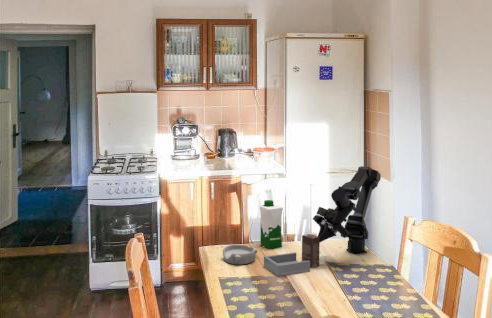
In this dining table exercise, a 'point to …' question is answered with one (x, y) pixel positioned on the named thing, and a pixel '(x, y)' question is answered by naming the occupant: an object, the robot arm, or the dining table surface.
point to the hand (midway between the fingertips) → (316, 242)
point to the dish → (239, 254)
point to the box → (310, 249)
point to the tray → (285, 264)
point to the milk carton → (271, 225)
